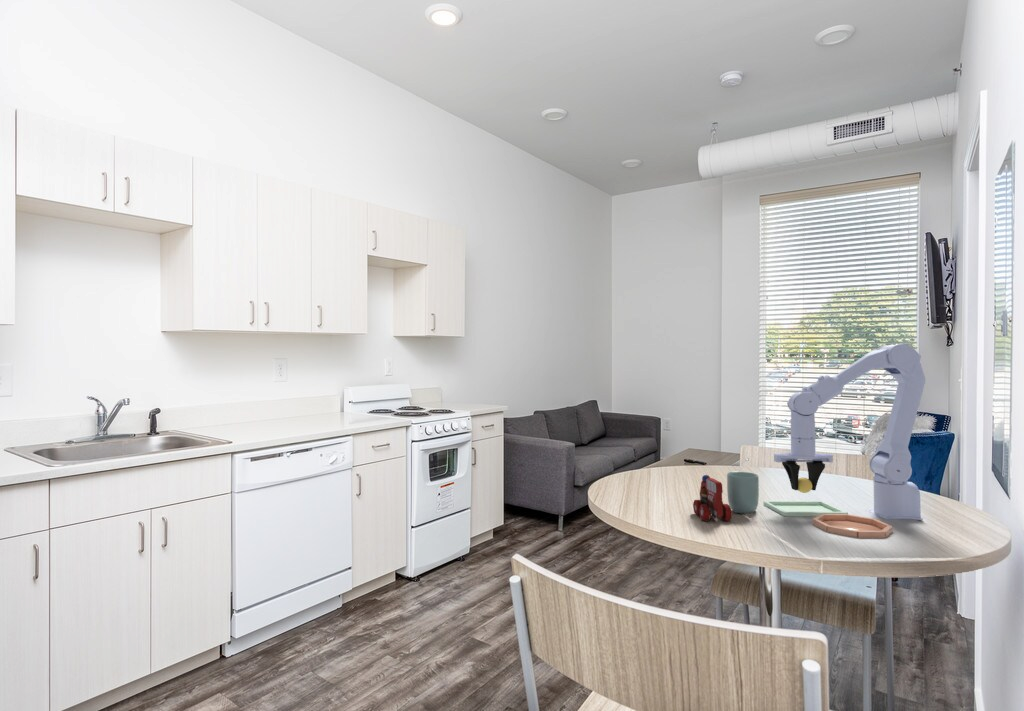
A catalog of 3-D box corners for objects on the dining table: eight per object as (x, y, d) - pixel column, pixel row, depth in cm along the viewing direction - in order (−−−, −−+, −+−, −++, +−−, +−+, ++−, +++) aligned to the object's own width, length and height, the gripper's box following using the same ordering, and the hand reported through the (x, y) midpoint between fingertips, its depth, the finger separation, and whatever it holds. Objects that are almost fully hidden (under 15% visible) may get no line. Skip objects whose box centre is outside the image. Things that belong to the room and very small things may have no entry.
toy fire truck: (716, 511, 147) (715, 472, 148) (734, 524, 135) (734, 481, 135) (690, 511, 147) (689, 472, 148) (706, 524, 135) (705, 481, 135)
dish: (864, 521, 137) (864, 514, 137) (906, 540, 122) (906, 532, 122) (803, 521, 137) (803, 513, 137) (837, 540, 122) (837, 531, 122)
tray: (822, 506, 152) (822, 501, 152) (848, 518, 140) (848, 512, 140) (763, 506, 152) (763, 501, 152) (784, 518, 140) (784, 512, 140)
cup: (762, 516, 141) (761, 477, 142) (730, 515, 143) (729, 476, 143) (755, 509, 149) (754, 472, 149) (724, 507, 151) (724, 471, 151)
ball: (808, 491, 148) (808, 476, 148) (815, 494, 144) (815, 479, 144) (792, 490, 148) (792, 475, 148) (799, 494, 144) (799, 478, 144)
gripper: (822, 436, 150) (823, 486, 150) (768, 436, 150) (769, 486, 150) (837, 439, 143) (837, 492, 143) (780, 439, 143) (781, 492, 143)
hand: (803, 489), depth 146 cm, fingers closed on ball, 4 cm apart
